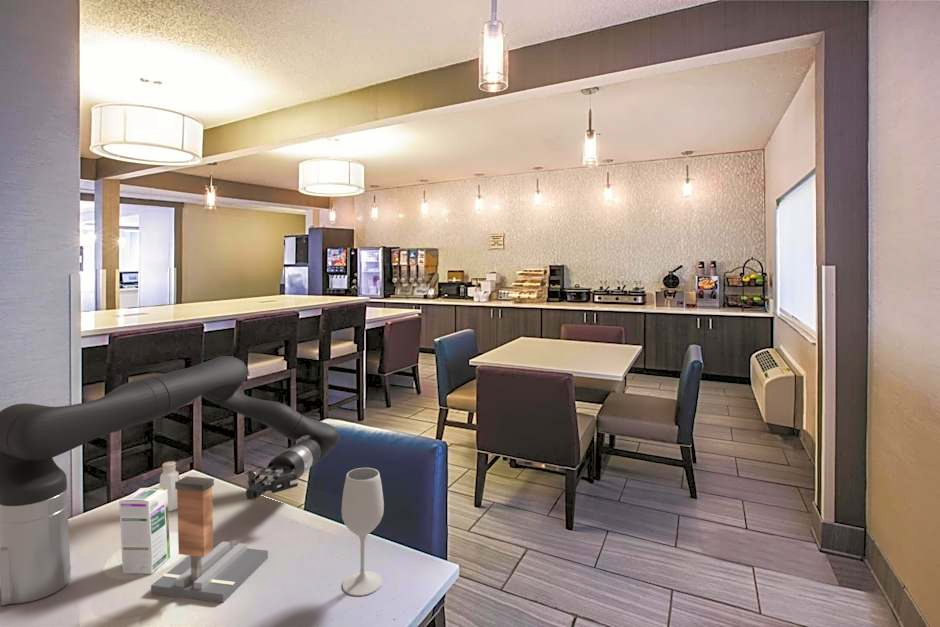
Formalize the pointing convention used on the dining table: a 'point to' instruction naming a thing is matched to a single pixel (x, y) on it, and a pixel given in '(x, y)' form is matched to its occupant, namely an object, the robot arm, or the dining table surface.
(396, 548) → the dining table surface
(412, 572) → the dining table surface
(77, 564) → the dining table surface
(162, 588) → the grey slotted base
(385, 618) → the dining table surface
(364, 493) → the wineglass
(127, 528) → the syrup box
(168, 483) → the salt shaker
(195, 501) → the lever
